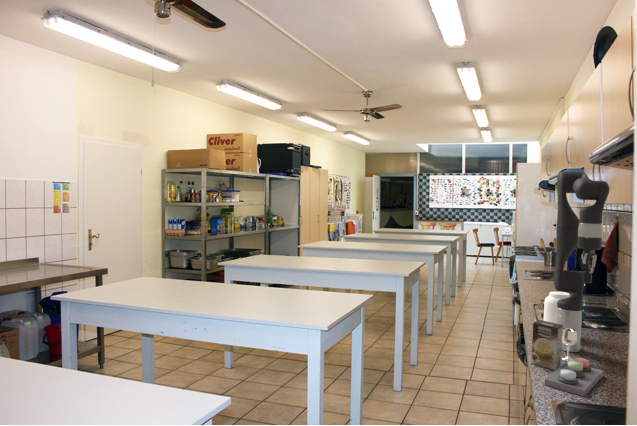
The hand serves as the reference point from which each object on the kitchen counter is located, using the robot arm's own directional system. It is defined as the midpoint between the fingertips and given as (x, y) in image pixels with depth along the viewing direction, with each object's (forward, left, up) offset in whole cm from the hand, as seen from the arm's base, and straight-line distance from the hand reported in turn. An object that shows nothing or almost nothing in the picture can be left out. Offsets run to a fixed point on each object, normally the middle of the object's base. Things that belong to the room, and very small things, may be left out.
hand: (587, 283), depth 164 cm
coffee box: (+3, -12, -33) cm, 35 cm away
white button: (+19, 0, -30) cm, 35 cm away
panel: (+11, 0, -33) cm, 35 cm away
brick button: (+3, 0, -30) cm, 30 cm away
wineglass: (-10, -8, -33) cm, 36 cm away
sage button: (+11, 0, -29) cm, 31 cm away
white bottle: (-42, -21, -33) cm, 57 cm away
